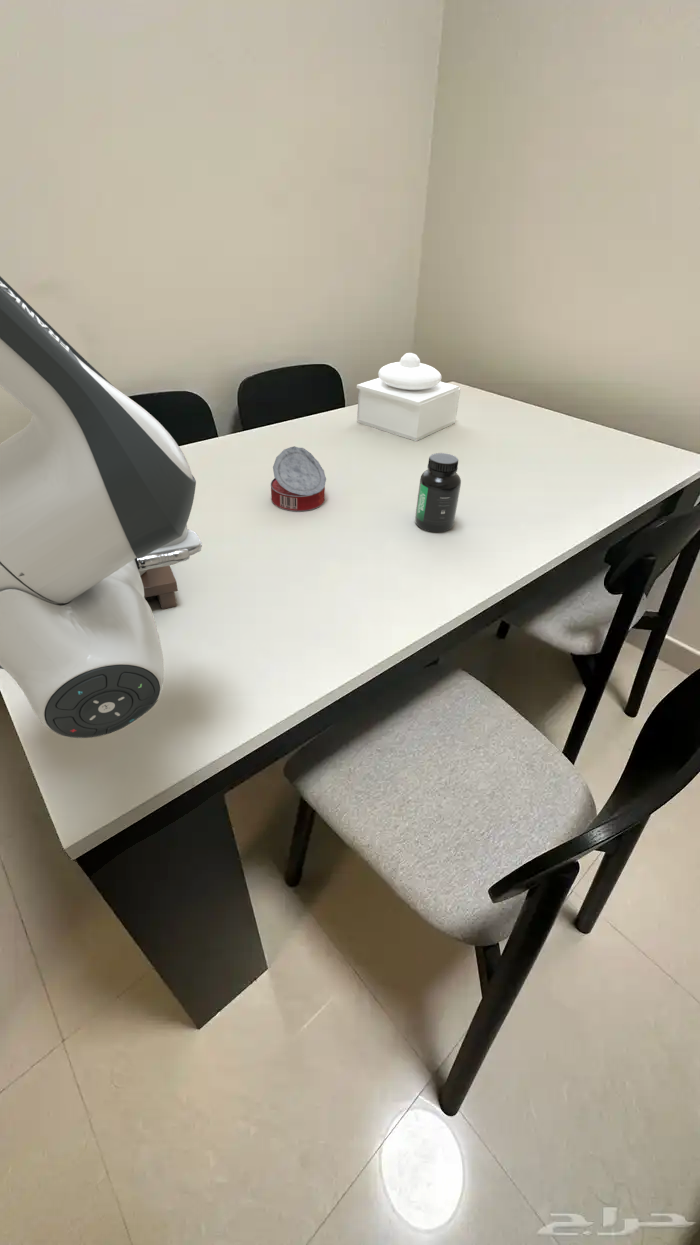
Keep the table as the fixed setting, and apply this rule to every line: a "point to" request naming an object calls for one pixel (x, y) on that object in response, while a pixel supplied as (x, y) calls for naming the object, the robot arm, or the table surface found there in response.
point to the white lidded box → (408, 400)
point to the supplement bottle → (438, 494)
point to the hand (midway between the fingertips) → (67, 504)
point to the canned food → (297, 481)
